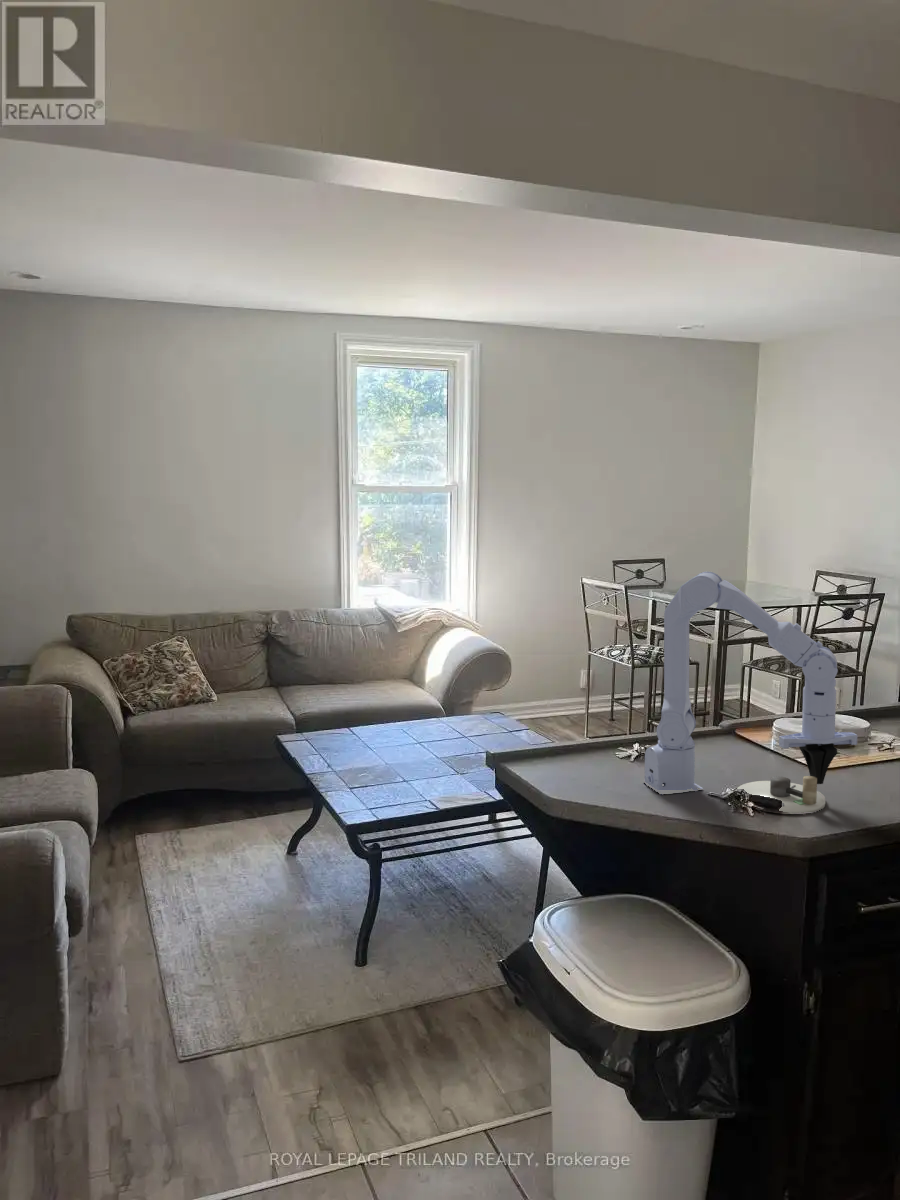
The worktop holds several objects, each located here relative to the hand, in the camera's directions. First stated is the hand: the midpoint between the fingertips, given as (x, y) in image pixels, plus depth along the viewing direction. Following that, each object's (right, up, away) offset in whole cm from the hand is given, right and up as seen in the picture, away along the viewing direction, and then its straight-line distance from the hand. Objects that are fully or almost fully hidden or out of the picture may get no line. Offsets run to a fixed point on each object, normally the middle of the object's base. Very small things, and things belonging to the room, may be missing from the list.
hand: (816, 782), depth 163 cm
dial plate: (-6, -4, +2) cm, 8 cm away
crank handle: (-5, -3, 0) cm, 5 cm away
